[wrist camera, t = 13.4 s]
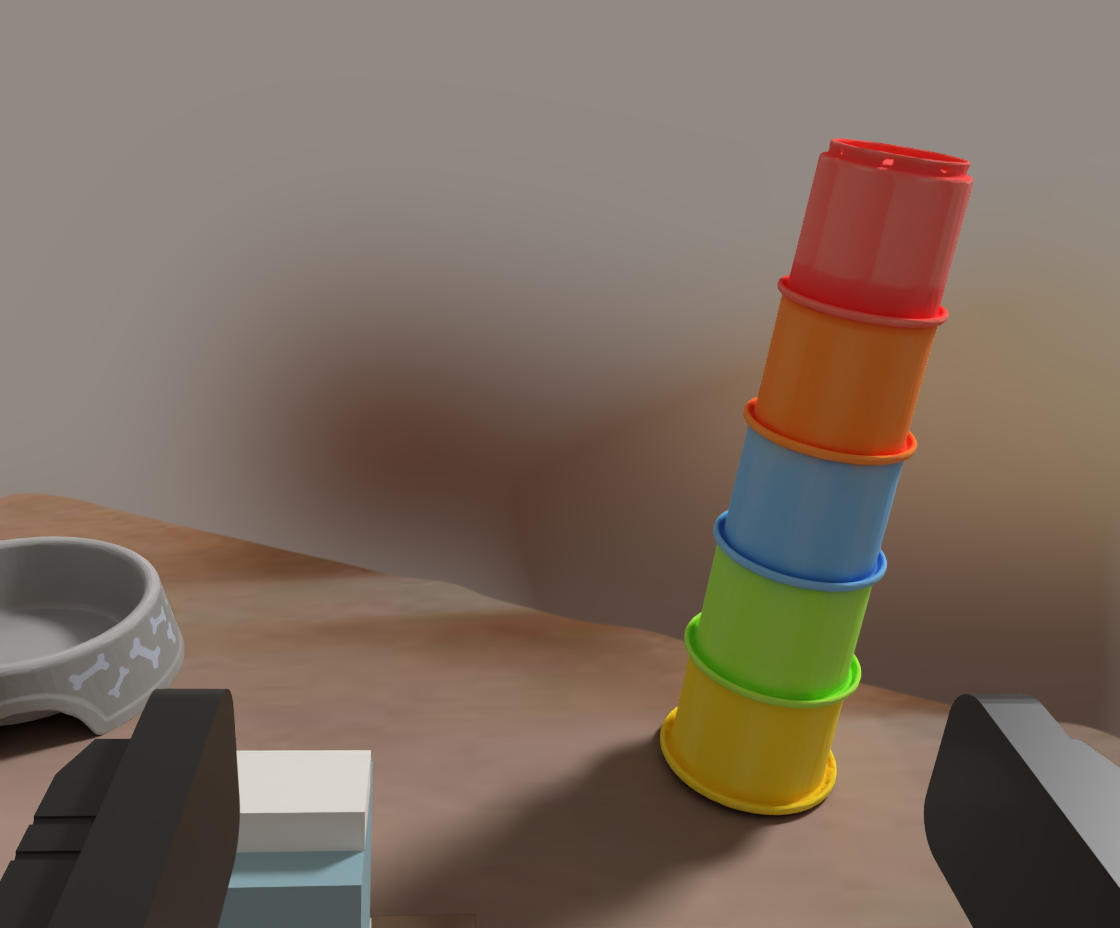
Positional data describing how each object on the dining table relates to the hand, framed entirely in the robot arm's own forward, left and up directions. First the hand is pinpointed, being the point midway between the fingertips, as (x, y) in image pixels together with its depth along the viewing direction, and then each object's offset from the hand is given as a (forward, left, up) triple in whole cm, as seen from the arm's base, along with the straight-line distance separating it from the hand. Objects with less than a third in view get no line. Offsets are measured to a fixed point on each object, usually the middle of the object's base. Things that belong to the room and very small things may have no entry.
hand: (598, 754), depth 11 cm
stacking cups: (-31, -27, -31) cm, 51 cm away
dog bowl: (+4, -52, -31) cm, 61 cm away
